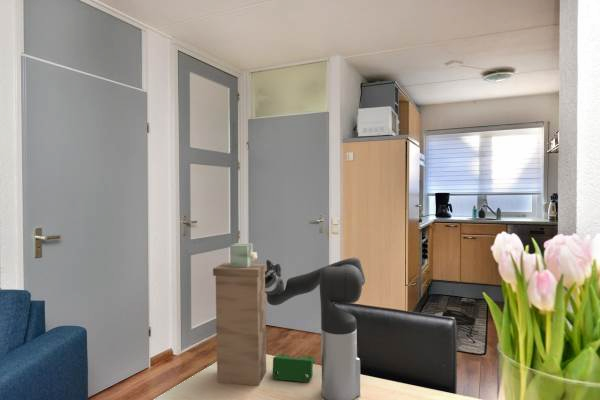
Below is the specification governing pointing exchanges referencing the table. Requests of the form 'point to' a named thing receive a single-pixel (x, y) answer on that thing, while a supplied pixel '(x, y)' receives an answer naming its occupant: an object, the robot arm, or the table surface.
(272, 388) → the table surface
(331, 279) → the robot arm
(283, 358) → the green box
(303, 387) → the table surface
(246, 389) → the table surface
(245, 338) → the tool tower
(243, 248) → the mint and tan block
